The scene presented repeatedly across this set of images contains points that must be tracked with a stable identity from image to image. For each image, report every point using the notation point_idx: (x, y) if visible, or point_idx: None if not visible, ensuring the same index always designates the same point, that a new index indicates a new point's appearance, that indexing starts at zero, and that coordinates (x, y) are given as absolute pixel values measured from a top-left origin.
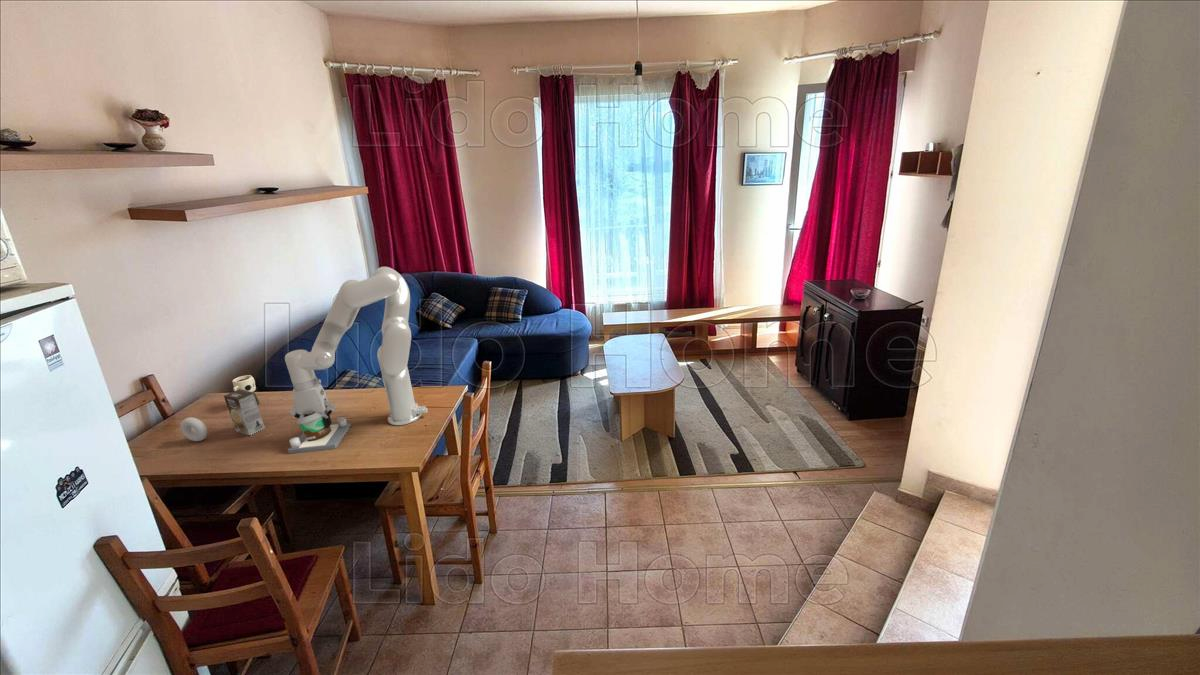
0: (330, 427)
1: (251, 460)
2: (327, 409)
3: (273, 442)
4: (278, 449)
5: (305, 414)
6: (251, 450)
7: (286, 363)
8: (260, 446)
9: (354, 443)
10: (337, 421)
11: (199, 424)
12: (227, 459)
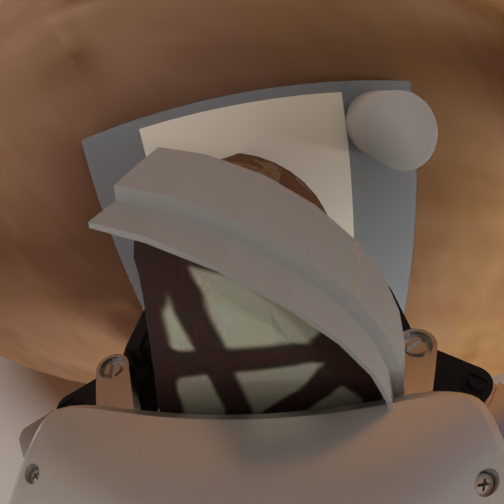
0: (318, 200)
1: (75, 358)
2: (394, 306)
3: (28, 254)
4: (96, 312)
5: (134, 402)
6: (16, 300)
7: None
8: (16, 278)
9: (463, 291)
10: (375, 158)
11: None
12: (11, 334)
